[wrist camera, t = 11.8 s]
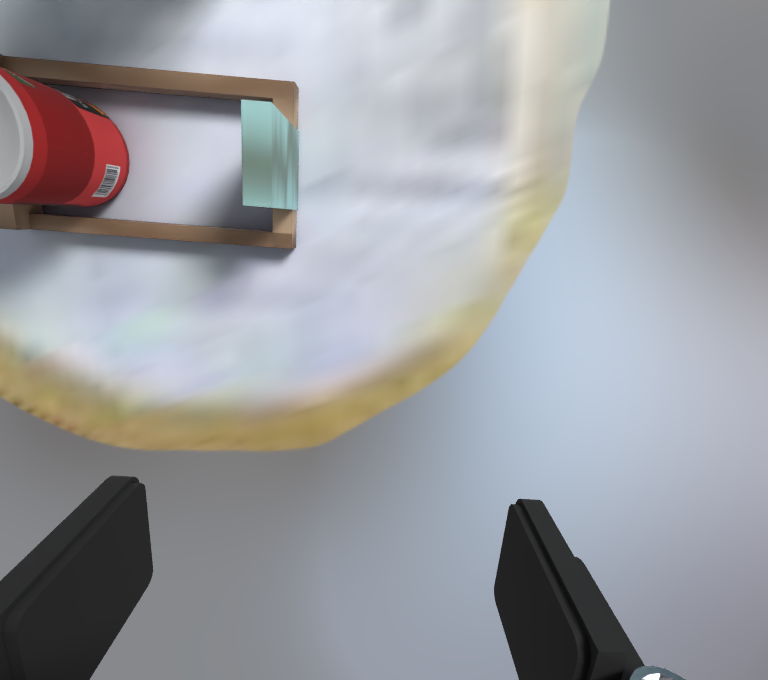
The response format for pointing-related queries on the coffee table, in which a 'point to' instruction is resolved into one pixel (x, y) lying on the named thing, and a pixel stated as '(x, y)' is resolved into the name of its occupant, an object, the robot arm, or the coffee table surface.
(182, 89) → the wooden rectangular frame
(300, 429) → the coffee table surface
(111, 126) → the canned food
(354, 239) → the coffee table surface
